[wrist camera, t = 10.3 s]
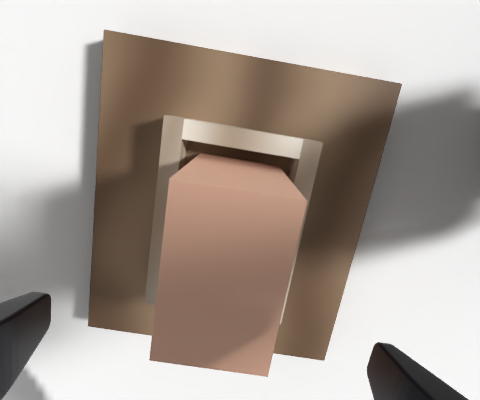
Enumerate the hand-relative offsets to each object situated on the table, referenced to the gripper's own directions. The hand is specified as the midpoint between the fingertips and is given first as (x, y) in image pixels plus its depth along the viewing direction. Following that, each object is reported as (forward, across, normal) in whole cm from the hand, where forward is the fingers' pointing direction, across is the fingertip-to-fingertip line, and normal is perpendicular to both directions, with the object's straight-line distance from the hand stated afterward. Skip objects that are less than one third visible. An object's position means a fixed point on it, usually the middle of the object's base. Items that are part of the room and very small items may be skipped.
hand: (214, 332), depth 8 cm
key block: (+10, 0, 0) cm, 10 cm away
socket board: (+12, 0, 0) cm, 12 cm away
